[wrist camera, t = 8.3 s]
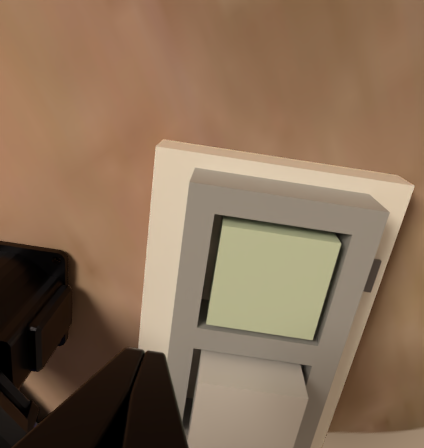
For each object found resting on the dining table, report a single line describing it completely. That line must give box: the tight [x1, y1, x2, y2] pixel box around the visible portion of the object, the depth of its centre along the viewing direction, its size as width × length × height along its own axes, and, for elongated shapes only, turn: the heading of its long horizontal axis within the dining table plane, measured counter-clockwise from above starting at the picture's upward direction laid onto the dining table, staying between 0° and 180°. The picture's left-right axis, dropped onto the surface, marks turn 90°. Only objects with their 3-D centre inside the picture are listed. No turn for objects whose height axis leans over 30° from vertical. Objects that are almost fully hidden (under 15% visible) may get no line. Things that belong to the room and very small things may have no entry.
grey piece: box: [138, 139, 415, 448], centre depth 22 cm, size 12×24×4 cm, turn 172°
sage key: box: [206, 215, 341, 340], centre depth 18 cm, size 5×5×2 cm
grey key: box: [187, 349, 308, 448], centre depth 19 cm, size 5×5×2 cm
